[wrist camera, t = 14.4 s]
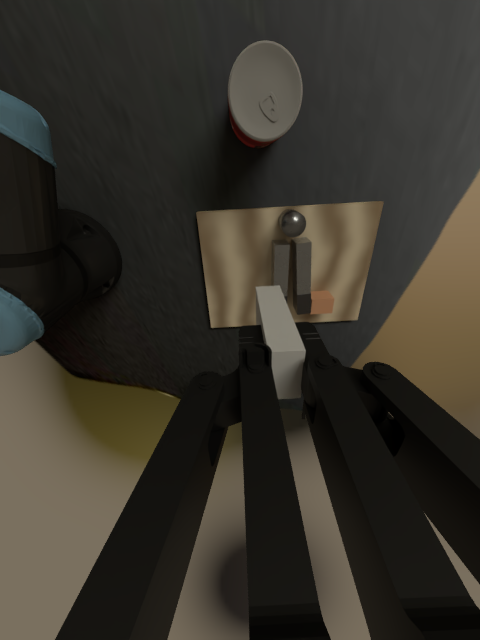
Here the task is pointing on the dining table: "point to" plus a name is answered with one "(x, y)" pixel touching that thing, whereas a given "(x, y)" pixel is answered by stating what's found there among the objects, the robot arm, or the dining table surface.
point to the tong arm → (301, 275)
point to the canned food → (263, 93)
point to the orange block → (321, 302)
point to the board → (256, 253)
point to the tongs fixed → (285, 247)
